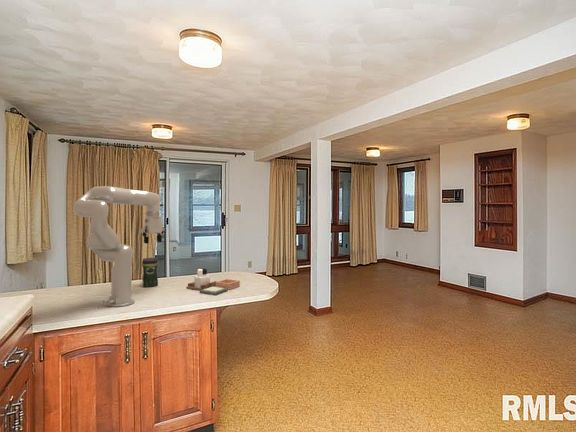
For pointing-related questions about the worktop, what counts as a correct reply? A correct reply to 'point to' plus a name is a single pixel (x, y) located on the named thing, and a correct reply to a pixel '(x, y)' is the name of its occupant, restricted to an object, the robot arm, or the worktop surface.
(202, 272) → the medicine bottle
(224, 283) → the reddish brown square tray
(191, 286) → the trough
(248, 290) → the worktop surface
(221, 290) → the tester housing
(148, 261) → the coffee jar
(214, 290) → the tester pad
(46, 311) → the worktop surface
